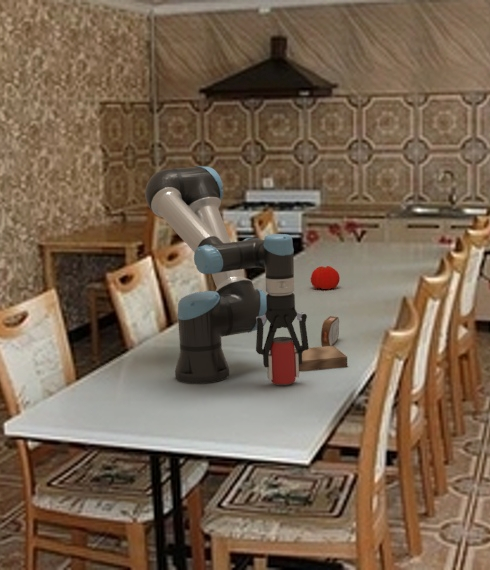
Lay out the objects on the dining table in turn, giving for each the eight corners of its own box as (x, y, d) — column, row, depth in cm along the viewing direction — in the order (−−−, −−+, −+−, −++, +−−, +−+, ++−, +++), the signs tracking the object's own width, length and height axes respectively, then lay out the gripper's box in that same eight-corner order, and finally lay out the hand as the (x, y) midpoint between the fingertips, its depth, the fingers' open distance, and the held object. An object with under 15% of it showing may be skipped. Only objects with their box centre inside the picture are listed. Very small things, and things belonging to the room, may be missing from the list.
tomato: (311, 286, 400) (311, 265, 399) (340, 286, 398) (339, 264, 397) (309, 291, 390) (309, 269, 388) (339, 291, 388) (338, 269, 386)
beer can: (300, 381, 257) (299, 338, 255) (284, 387, 252) (283, 343, 250) (282, 377, 261) (280, 335, 259) (266, 383, 257) (264, 339, 255)
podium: (299, 371, 269) (299, 361, 268) (288, 359, 282) (287, 349, 282) (347, 366, 271) (347, 356, 271) (333, 355, 285) (333, 345, 284)
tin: (331, 338, 306) (330, 313, 305) (341, 339, 305) (340, 313, 304) (320, 350, 292) (319, 323, 291) (330, 350, 291) (329, 323, 290)
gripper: (246, 298, 247) (250, 384, 251) (319, 292, 251) (322, 377, 255) (241, 293, 254) (245, 376, 259) (312, 287, 258) (314, 370, 262)
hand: (283, 377), depth 257 cm, fingers closed on beer can, 7 cm apart
